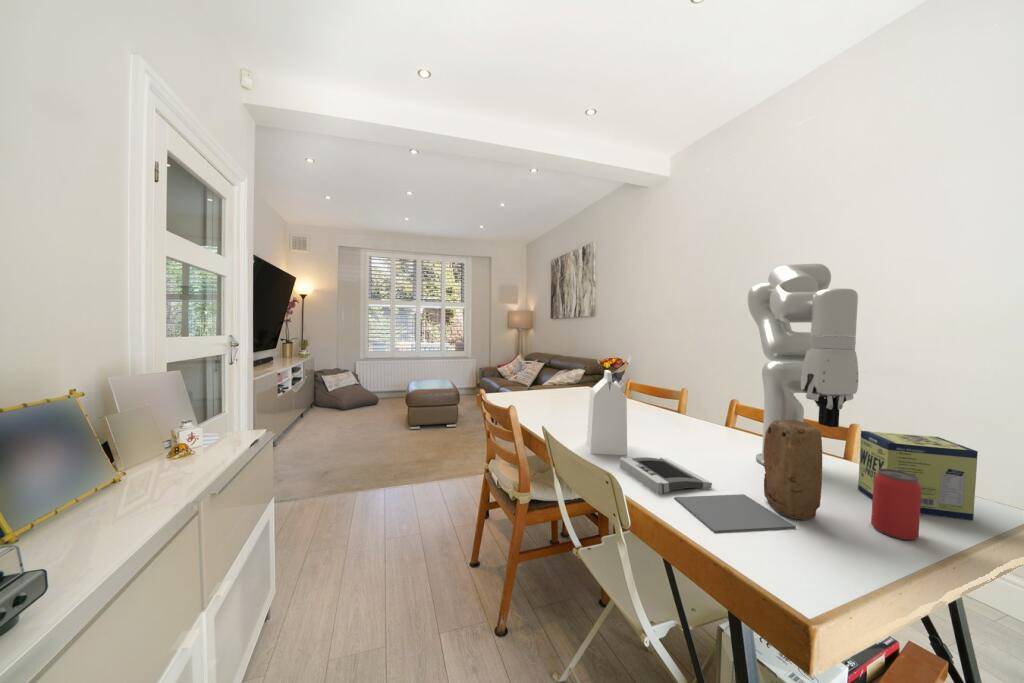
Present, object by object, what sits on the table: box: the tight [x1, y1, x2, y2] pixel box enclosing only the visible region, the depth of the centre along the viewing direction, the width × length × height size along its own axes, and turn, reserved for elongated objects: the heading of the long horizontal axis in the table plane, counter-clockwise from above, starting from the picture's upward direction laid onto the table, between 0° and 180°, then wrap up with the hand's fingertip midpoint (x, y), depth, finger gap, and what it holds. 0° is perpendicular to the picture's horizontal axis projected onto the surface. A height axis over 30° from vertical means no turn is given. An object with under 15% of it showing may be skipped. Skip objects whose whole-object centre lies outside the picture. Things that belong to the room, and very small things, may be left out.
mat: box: [674, 493, 797, 533], centre depth 79 cm, size 18×14×1 cm
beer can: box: [870, 469, 922, 541], centre depth 72 cm, size 7×7×12 cm
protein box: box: [857, 430, 979, 521], centre depth 84 cm, size 10×16×16 cm
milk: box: [586, 369, 628, 456], centre depth 120 cm, size 12×12×26 cm
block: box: [763, 420, 823, 521], centre depth 80 cm, size 11×8×20 cm
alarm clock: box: [619, 456, 713, 495], centre depth 97 cm, size 17×5×16 cm
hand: (828, 425), depth 81 cm, fingers closed
